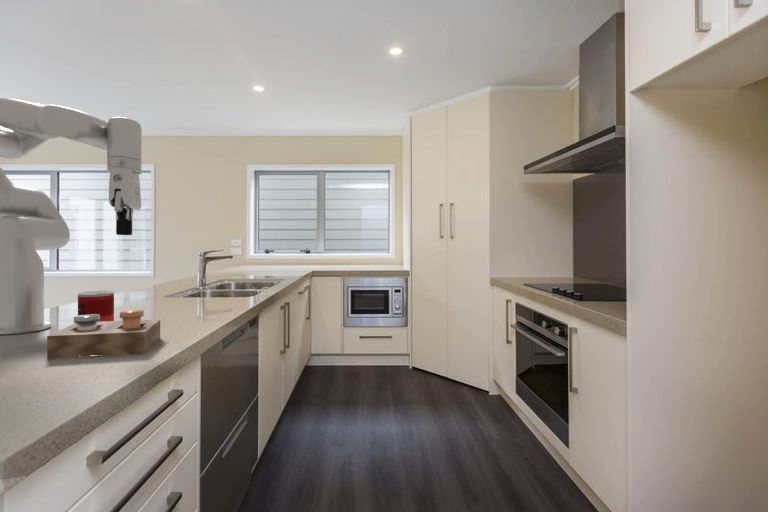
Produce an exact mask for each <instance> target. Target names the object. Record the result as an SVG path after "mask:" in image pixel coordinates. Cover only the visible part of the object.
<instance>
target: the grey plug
mask: <svg viewBox="0 0 768 512" xmlns="http://www.w3.org/2000/svg"><path fill="white" fill-rule="evenodd" d="M97 321H100V315H98V314H87V315H79V316H78V315H75V316H73V324H75V323H77V330H96V329H97Z"/></svg>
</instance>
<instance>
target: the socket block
mask: <svg viewBox="0 0 768 512" xmlns="http://www.w3.org/2000/svg"><path fill="white" fill-rule="evenodd" d="M46 338H47V339H46V347H47V348H46V359H47V360H56V358H61V359H69V358H68V357H77V358H80V357H79V356H90V355H111V356H119V355H118V354H128V355H143V354H146V353H147V352H148V351H149V350H150V349H151V348H152V347H153V346H154V345H155V344H156V343H157V342H159V340H160V339H161V319H141V328H125V329H123V320H114V321H103V322H97V329H96V330H77V323H73V324H71V325H69V326H67V327H63V328H62V329H60V330H58V331H55V332H52V333H51V334H48V335H47V336H46ZM54 358H55V359H54Z"/></svg>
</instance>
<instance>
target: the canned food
mask: <svg viewBox="0 0 768 512" xmlns="http://www.w3.org/2000/svg"><path fill="white" fill-rule="evenodd" d="M87 314H98V315H100V321H97V322H103V321H115V316H114V315H115V292H114V291H112V290H93V291H84V292H79V293H78V294H77V316H79V315H87Z"/></svg>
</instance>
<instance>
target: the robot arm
mask: <svg viewBox="0 0 768 512" xmlns="http://www.w3.org/2000/svg"><path fill="white" fill-rule="evenodd" d="M57 138H64V139H69V140H71V141H76V142H79V143H83V144H84V145H88V146H92V147H95V148H99V149H101V150H106V153H107V154H106V158H107V159H106V164H107V165H106V171H109V181H108V183H109V184H108V203H109V205H110V207H112V208H114V209H113V210H114V212H115V219H116V221H115V222H116V223H115V225H116V227H115V232H116V235H117V236H132V235H133V214H134V210H136V211H139V210H141V209H142V195H141V194H142V193H141V181H140V175H142V148H143V147H142V142H143V141H142V138H143V137H142V125H141V124H140V123H139V122H138V121H137V120H134V119H132V118H129V117H123V116H114V117H110V118H109V119H108V120H104V119H101V118H99V117H97V116H94V115H92V114H90V113H86V112H84V111H81V110H79V109H78V110H77V109H73V108H70V107H67V106H66V107H65V106H61V105H55V104H46V105H44V104H41V103H36V102H35V103H34V102H30V101H26V100H20V99H16V98H9V97H1V98H0V158H4V159H12V160H13V159H20V158H22V157H25V156H27V155H28V154H29V153H31V152H32V151H34V150H35V149H38V147H40V146H41V145H43V144H44V143H46V142H47V141H48V140H50V139H54V140H55V139H57ZM70 238H71V232H70V228H69V227H68V225H67V223H66V221H65V220H64V218H63V216H62V214H61V213H60V210H58V208H57V206H56V205H55V204H54V201H53V200H52V199H51V198H50V196H48V195H47V194H46V193H45V192H43V191H42V190H40V189H37V188H34V187H27V186H22V185H18V184H15V183H13V182H12V181H11V180H10V179H9V178H8V176H7V175H6V174H5V172H4V170H3V169H2V168H1V167H0V335H15V334H17V335H18V334H26V333H33V332H39V331H42V330H47V329H50V328H51V327H52V322H51V321H49V320H48V321H47V320H45V271H44V270H45V266H44V262H43V260H42V258H41V256H40V254H39V253H38V252H37V251H48V250H49V251H50V250H58V249H62V248H64V247H66V245H68V243H69V242H70Z"/></svg>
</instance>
